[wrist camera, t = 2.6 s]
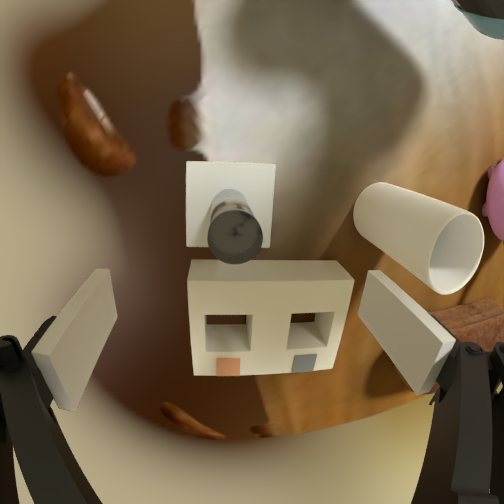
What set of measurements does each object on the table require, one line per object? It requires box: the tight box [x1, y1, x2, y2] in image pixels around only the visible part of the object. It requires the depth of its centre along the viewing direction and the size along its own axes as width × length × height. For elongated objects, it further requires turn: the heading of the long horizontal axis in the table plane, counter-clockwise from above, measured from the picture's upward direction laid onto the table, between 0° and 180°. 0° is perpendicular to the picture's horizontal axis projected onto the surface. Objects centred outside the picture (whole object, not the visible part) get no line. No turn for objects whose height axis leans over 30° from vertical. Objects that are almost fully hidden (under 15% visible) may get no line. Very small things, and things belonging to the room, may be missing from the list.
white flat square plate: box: [186, 162, 276, 248], centre depth 34 cm, size 10×10×1 cm
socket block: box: [187, 259, 354, 376], centre depth 37 cm, size 14×19×6 cm
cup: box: [353, 182, 484, 295], centre depth 29 cm, size 8×8×16 cm
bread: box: [394, 299, 504, 395], centre depth 41 cm, size 14×28×12 cm, turn 90°
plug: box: [207, 189, 263, 265], centre depth 28 cm, size 4×4×12 cm
